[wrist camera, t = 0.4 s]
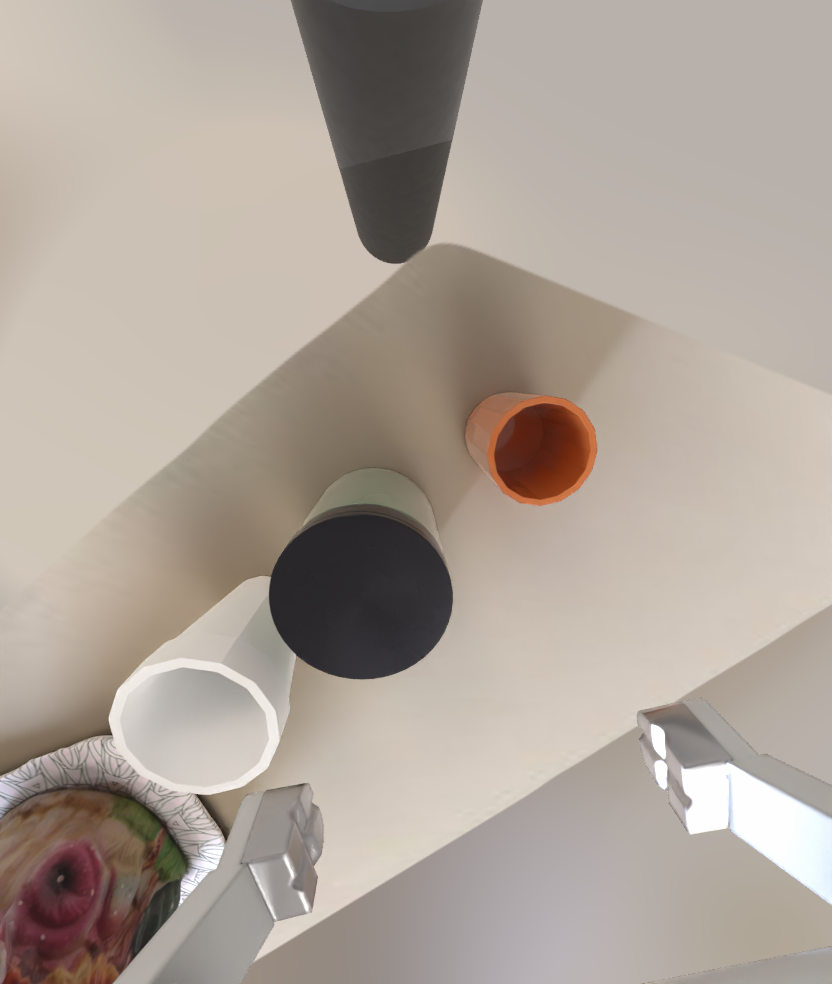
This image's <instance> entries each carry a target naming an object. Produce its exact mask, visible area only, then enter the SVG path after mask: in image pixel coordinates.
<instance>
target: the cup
mask: <svg viewBox="0 0 832 984" xmlns="http://www.w3.org/2000/svg"><path fill="white" fill-rule="evenodd" d="M465 440H466V446H467V449H468V452H469V454H470V455H471V457H472V458H473V460H474V461H475V462H476V464H477V465H478V466H479V467H480V468H481V469H482V471H483V472H484V473H485V474H486V475H487V476H488V477H489V478H490V479H491V480H492V481H493V482H494V483H495V485H496V486H497V487H498V488H499V489H500V490H501V491H502V492H503V493H504V494H506V495H508V496H509V497H511V498H513V499H514V500H516V501H518V502H519V503H524V504H531V505H537V506H542V505H546V504H550V503H554V502H559V501H562V500H563V499H565V498H566V497H568V496H569V495H571V494H572V493H574V492H575V491H576V490H578V489H579V488H580V487H581V485H582V484H583V483H584V481H585V480H586V478H587V477H588V476H589V474H590V473H591V471H592V468H593V465H594V461H595V457H596V454H597V443H596V435H595V429H594V427H593V425H592V424H591V422H590V420H589V419H588V417H587V415H586V414H585V412H584V411H583V410H582V409H580V408H579V407H577V406H576V405H574V404H573V403H571V402H570V401H568V400H567V399H563V398H557V397H551V396H545V395H535V394H524V393H514V392H505V393H499V394H495V395H492V396H490V397H488V398H486V399H485V400H483V401H482V402H481V403H480V404H479V405H478V406H477V407H476V408H475V409H474V410H473V412H472V413H471V415H470V417H469V419H468V422H467V425H466V431H465Z"/></svg>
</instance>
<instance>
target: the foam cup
mask: <svg viewBox="0 0 832 984" xmlns="http://www.w3.org/2000/svg"><path fill="white" fill-rule="evenodd" d="M270 579H271V577H268V576H258V577H254V578H251V579H247V580H245V581H244V582H242V583H241V584H240V585H239V586H238V587H236V588H235V589H234V590H233V591H232V592H230V593H229V594H228V595H227V596H226V597H224V598H223V599H222V600H221V601H220V602H218V603H217V604H216V605H215V606H213V607H212V608H211V609H210V610H209V611H207V612H206V613H205V614H204V615H203V616H201V617H200V618H199V619H198V620H197V621H195V622H194V623H193V624H192V625H191V626H189V627H188V628H187V629H186V630H185V631H183V632H182V633H181V634H180V635H179V636H177V637H176V638H175V639H173V640H169V641H166V642H165V643H164V644H163V645H162V646H161V647H159V648H158V649H157V650H156V651H155V652H154V653H152V654H151V655H150V656H149V657H148V658H147V659H145V660H144V661H143V662H142V663H141V664H140V665H139V666H138V668H137V669H136V670H135V671H134V672H133V673H132V674H131V675H130V676H129V677H128V678H127V680H126V681H125V682H124V683H123V684H122V685H121V686H120V687H119V688H118V690H117V693H116V696H115V699H114V702H113V705H112V708H111V712H110V715H109V718H108V720H109V724H110V728H111V731H112V735H113V739H114V743H115V746H116V750H117V751H118V752H119V753H120V754H121V755H122V756H123V757H124V759H125V760H126V761H127V762H128V763H129V764H130V765H131V766H132V767H133V768H134V770H135V771H136V772H137V773H138V774H139V775H140V776H143V777H145V778H147V779H149V780H151V781H153V782H155V783H157V784H159V785H161V786H163V787H165V788H167V789H169V790H171V791H177V792H186V793H194V794H203V795H211V794H215V793H220V792H224V791H228V790H232V789H236V788H240V787H243V786H244V785H246V784H247V783H248V782H250V781H251V780H252V779H254V778H255V777H256V776H258V775H259V774H260V773H262V772H263V771H264V770H266V769H267V768H268V766H269V764H270V762H271V759H272V757H273V755H274V753H275V750H276V748H277V746H278V744H279V741H280V739H281V736H282V733H283V730H284V727H285V724H286V721H287V718H288V715H289V712H290V705H289V695H290V689H291V683H292V678H293V672H294V666H295V660H296V654H295V653H294V652H293V651H292V650H291V649H290V648H289V647H288V646H287V645H286V643H285V642H284V641H283V639H282V638H281V636H280V634H279V633H278V631H277V629H276V627H275V624H274V622H273V619H272V615H271V612H270V605H269V586H270Z"/></svg>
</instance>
